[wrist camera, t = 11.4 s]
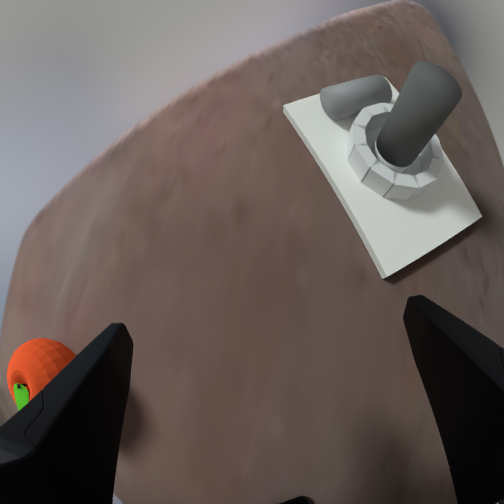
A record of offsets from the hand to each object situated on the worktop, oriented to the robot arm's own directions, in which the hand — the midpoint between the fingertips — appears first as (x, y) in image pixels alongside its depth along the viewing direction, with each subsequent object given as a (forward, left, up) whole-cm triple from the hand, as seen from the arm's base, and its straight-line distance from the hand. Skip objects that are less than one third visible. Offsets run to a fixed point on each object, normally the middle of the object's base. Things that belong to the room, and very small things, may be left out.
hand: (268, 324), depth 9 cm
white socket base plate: (+8, -16, -14) cm, 22 cm away
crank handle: (+8, -15, -13) cm, 21 cm away
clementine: (+2, +17, -14) cm, 22 cm away
